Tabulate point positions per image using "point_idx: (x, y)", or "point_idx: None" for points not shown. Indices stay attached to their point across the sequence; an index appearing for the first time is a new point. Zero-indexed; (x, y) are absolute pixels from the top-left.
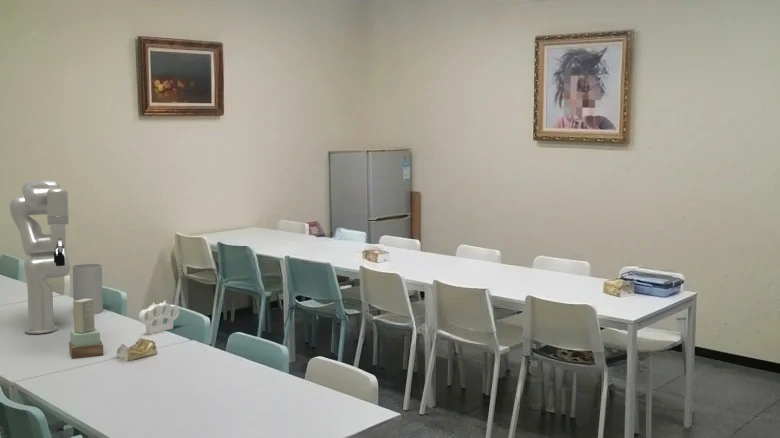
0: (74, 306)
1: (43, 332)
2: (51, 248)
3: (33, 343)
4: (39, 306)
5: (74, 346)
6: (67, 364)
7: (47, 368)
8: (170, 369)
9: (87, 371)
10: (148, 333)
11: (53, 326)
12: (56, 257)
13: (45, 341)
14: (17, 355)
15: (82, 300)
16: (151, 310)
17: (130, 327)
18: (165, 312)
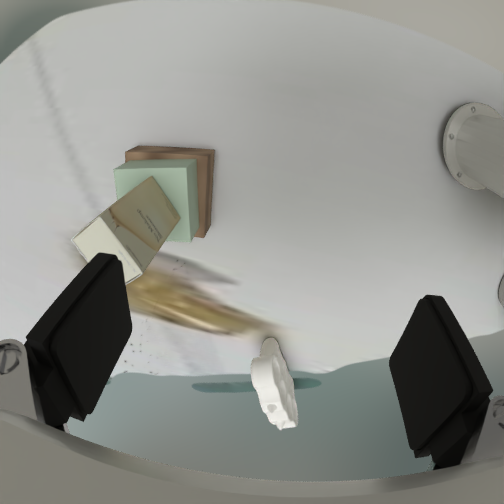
0: (105, 210)
1: (444, 137)
2: (33, 464)
3: (387, 89)
4: (501, 150)
5: (134, 160)
6: (94, 131)
7: (82, 88)
8: (27, 284)
9: (37, 166)
10: (267, 344)
11: (469, 177)
12: (44, 329)
13: (392, 123)
14: (255, 21)
15: (96, 251)
16: (257, 392)
17: (392, 332)
18: (288, 405)
